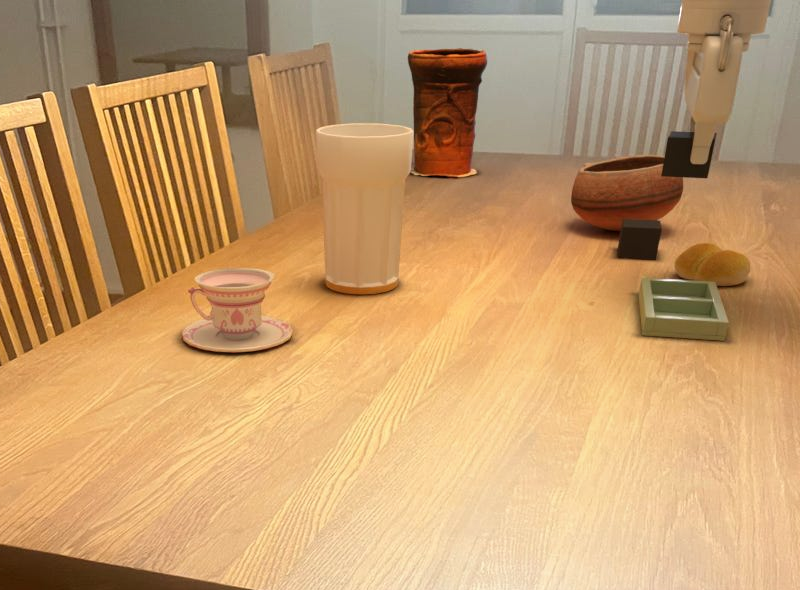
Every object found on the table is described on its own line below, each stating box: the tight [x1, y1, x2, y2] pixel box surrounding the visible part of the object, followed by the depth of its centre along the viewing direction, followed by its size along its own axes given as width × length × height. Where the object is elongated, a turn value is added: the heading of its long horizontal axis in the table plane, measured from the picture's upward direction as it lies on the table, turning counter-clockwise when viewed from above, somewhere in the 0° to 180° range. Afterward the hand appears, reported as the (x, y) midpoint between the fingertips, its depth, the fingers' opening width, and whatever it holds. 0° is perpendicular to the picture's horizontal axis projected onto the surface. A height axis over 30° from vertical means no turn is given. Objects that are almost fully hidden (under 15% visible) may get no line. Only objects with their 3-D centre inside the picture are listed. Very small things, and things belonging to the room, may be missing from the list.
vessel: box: [407, 47, 488, 178], centre depth 179 cm, size 14×14×20 cm
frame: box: [637, 277, 730, 342], centre depth 109 cm, size 8×16×2 cm, turn 166°
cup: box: [315, 122, 414, 296], centre depth 116 cm, size 11×11×17 cm
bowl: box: [570, 154, 684, 232], centre depth 142 cm, size 16×16×10 cm
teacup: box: [181, 267, 294, 353], centre depth 103 cm, size 12×12×6 cm
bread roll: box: [673, 242, 751, 287], centre depth 121 cm, size 8×9×4 cm
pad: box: [661, 130, 718, 179], centre depth 109 cm, size 5×5×4 cm
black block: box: [617, 219, 663, 261], centre depth 131 cm, size 5×5×4 cm
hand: (695, 158), depth 109 cm, fingers closed on pad, 5 cm apart
